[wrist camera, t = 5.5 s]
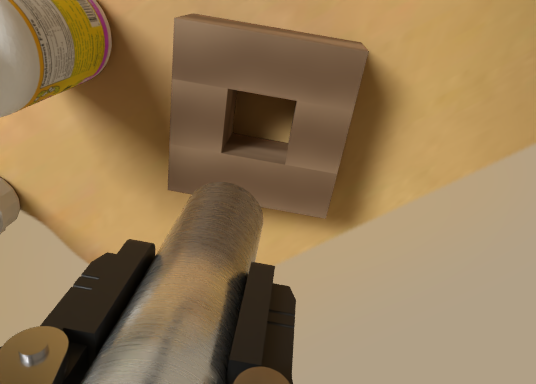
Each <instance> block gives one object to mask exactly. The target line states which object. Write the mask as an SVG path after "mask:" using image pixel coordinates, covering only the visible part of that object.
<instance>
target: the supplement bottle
mask: <svg viewBox="0 0 536 384" xmlns="http://www.w3.org/2000/svg"><path fill="white" fill-rule="evenodd" d="M111 48H112V38H111V31H110V27H109V23H108V20H107V18H106V16H105V14H104V12H103V10H102V8H101V7H100V5H99V4H98V2H97V1H96V0H0V117H3V116H7V115H9V114H12V113H14V112H17V111H19V110H21V109H23V108H26V107H28V106H30V105H32V104H35V103H37V102H39V101H42V100H44V99H46V98H49V97H51V96H53V95H56V94H58V93H60V92H63V91H65V90H67V89H70V88H72V87H74V86H77V85H79V84H81V83H84V82H86V81H88V80H90V79H92V78H93V77H95V76H96V75H98V74H99V73H100V72H101V71H102V70H103V68H104V67H105V66H106V64H107V62H108V60H109V57H110V53H111Z"/></svg>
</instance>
